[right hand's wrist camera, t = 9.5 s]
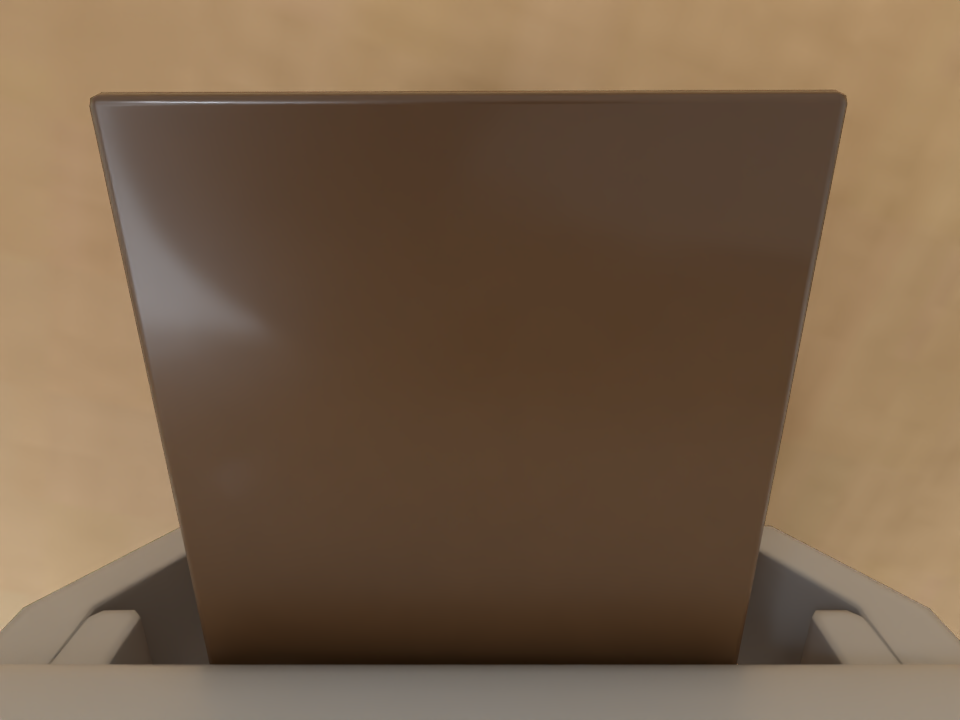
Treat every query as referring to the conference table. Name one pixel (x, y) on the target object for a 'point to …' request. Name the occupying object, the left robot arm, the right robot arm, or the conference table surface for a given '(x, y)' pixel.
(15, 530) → the conference table surface
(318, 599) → the beam
